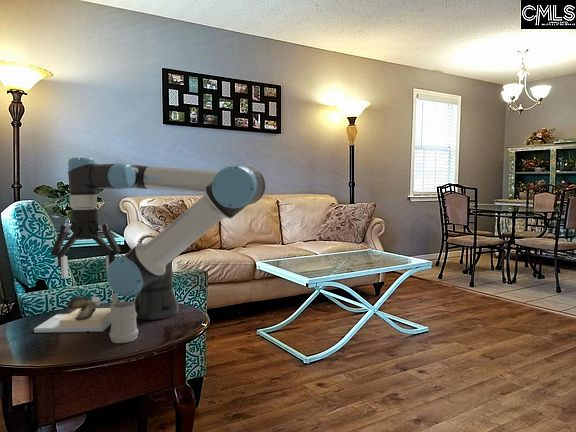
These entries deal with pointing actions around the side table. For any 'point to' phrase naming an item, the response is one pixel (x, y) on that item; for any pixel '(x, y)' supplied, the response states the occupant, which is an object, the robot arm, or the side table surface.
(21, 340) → the side table surface
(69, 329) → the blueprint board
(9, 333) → the side table surface
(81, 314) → the eagle figurine
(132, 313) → the mug
